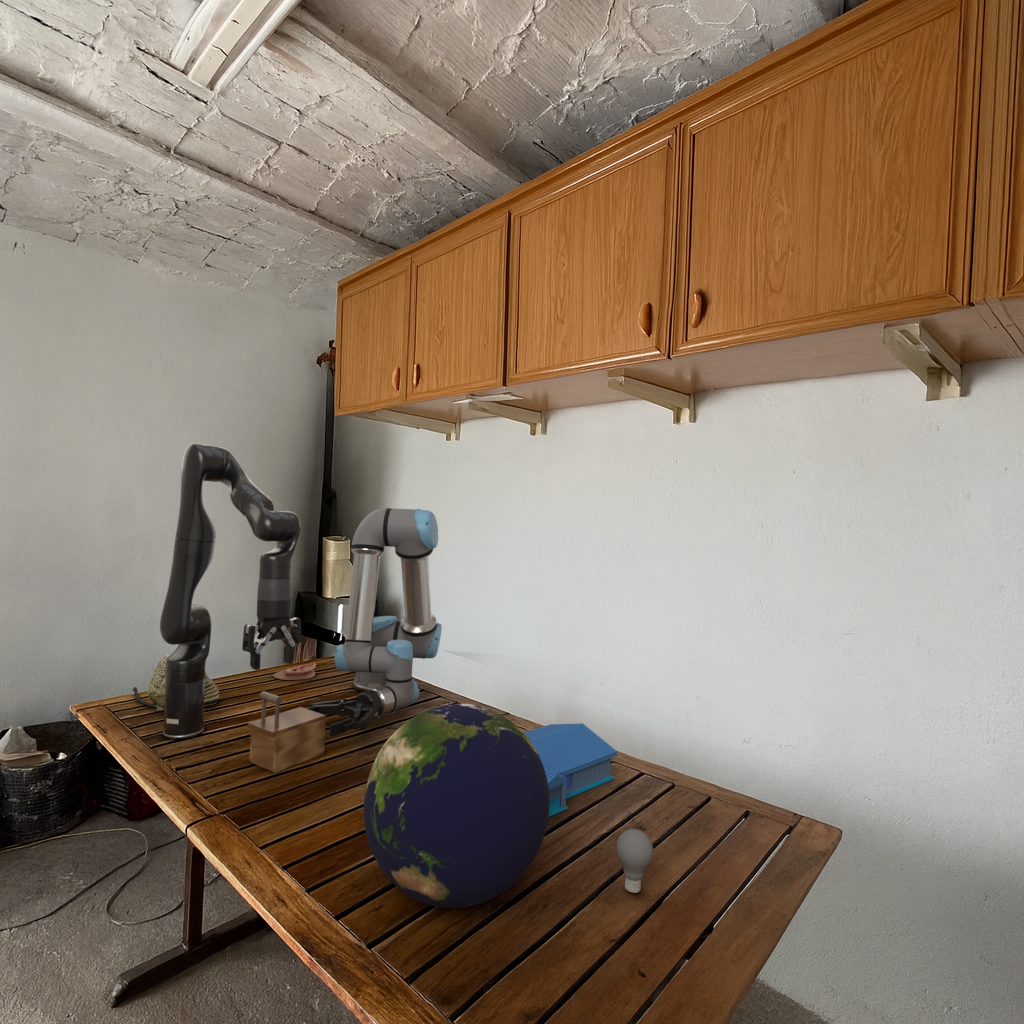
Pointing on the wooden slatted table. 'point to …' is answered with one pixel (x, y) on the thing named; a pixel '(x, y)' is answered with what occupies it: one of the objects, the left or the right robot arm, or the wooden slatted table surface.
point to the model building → (571, 760)
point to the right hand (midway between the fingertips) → (311, 724)
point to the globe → (456, 806)
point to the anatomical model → (297, 672)
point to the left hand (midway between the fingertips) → (272, 665)
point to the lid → (283, 717)
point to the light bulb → (634, 857)
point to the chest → (287, 746)
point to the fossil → (158, 687)
